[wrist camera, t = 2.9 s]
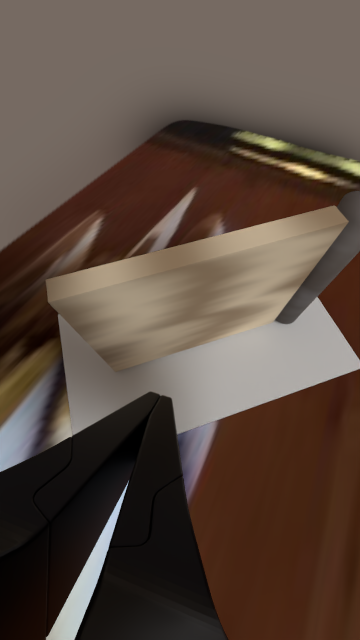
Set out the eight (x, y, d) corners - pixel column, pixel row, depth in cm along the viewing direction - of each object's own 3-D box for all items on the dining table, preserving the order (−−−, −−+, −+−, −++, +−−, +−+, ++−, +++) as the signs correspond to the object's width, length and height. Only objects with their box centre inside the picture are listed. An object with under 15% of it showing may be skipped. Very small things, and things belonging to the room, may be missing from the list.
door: (279, 283, 20) (351, 166, 12) (302, 319, 19) (402, 217, 10) (107, 333, 18) (41, 239, 10) (116, 378, 17) (49, 314, 8)
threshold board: (282, 258, 23) (286, 251, 22) (354, 370, 18) (363, 366, 17) (63, 319, 20) (57, 314, 19) (83, 468, 16) (76, 469, 15)
